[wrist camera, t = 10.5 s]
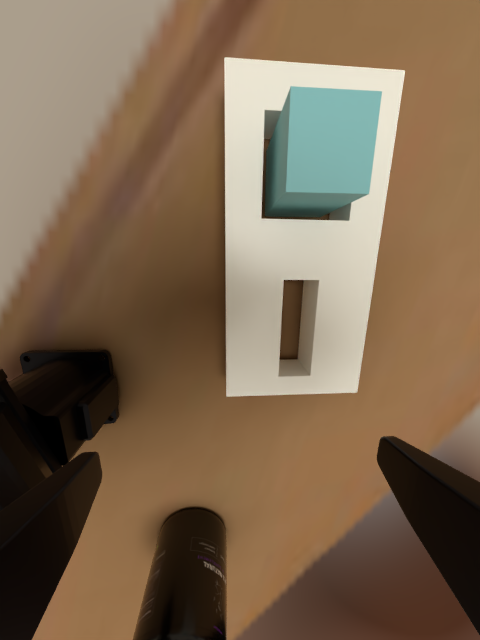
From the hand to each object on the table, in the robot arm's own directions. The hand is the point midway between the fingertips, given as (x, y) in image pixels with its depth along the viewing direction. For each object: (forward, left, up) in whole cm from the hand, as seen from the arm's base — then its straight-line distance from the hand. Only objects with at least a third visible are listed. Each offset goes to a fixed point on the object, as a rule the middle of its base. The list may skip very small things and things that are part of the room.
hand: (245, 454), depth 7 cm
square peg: (+5, +11, -12) cm, 17 cm away
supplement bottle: (-4, -21, -12) cm, 25 cm away
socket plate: (+5, +6, -12) cm, 14 cm away
